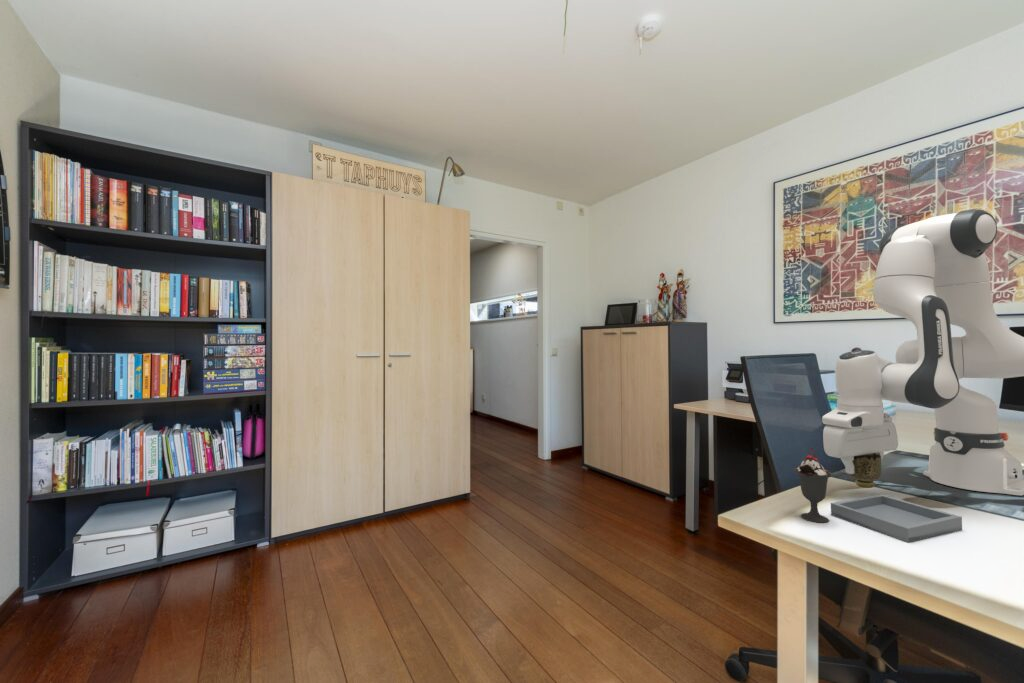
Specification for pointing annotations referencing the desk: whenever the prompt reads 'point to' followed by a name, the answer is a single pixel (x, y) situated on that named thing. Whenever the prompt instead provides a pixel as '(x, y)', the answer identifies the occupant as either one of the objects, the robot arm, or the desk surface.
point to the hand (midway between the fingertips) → (863, 471)
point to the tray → (897, 517)
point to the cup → (867, 470)
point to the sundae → (813, 486)
